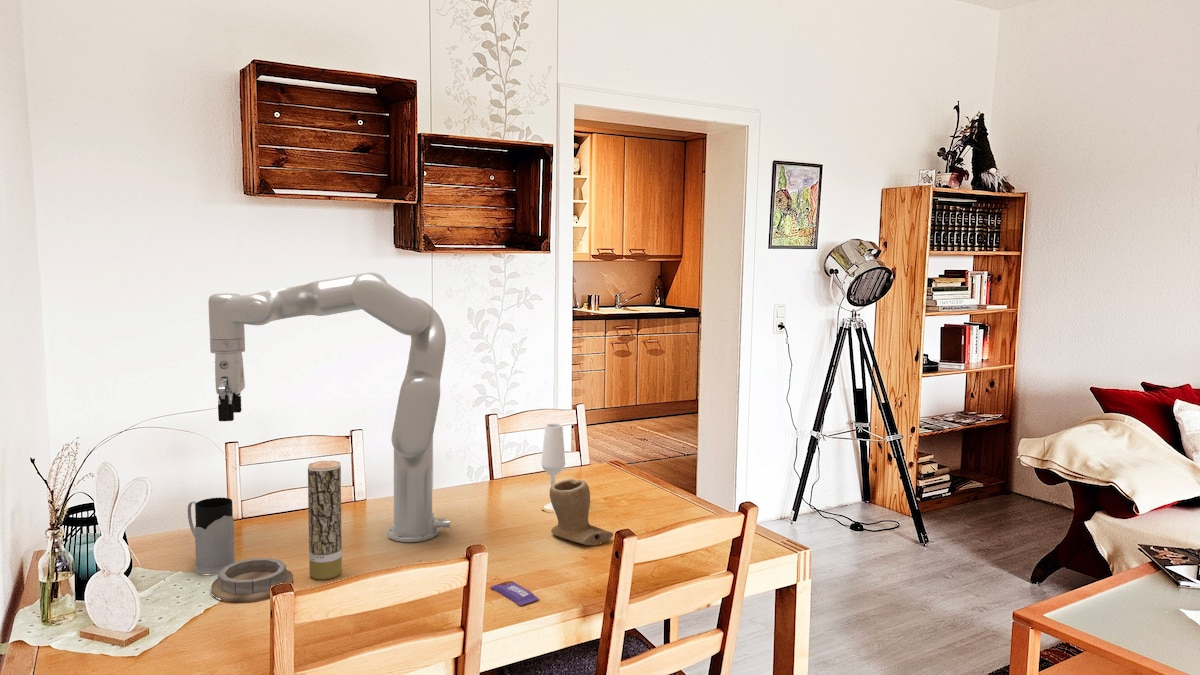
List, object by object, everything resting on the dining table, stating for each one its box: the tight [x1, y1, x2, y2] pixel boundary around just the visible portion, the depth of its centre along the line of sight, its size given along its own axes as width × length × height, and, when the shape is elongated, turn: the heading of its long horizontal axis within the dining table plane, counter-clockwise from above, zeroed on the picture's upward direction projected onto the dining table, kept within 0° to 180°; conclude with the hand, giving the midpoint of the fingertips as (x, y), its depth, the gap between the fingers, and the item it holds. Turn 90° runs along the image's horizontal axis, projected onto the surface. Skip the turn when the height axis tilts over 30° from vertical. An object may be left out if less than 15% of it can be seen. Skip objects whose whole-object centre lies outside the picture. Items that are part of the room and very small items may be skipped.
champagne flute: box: [540, 423, 566, 510], centre depth 225 cm, size 7×7×24 cm
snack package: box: [489, 580, 540, 606], centre depth 171 cm, size 12×2×5 cm
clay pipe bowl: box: [549, 478, 614, 546], centre depth 203 cm, size 15×12×15 cm
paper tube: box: [307, 460, 343, 581], centre depth 177 cm, size 7×7×25 cm
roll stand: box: [210, 557, 294, 604], centre depth 171 cm, size 16×16×4 cm
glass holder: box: [187, 497, 237, 575], centre depth 181 cm, size 9×14×15 cm, turn 58°
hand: (230, 416), depth 193 cm, fingers open, 9 cm apart
